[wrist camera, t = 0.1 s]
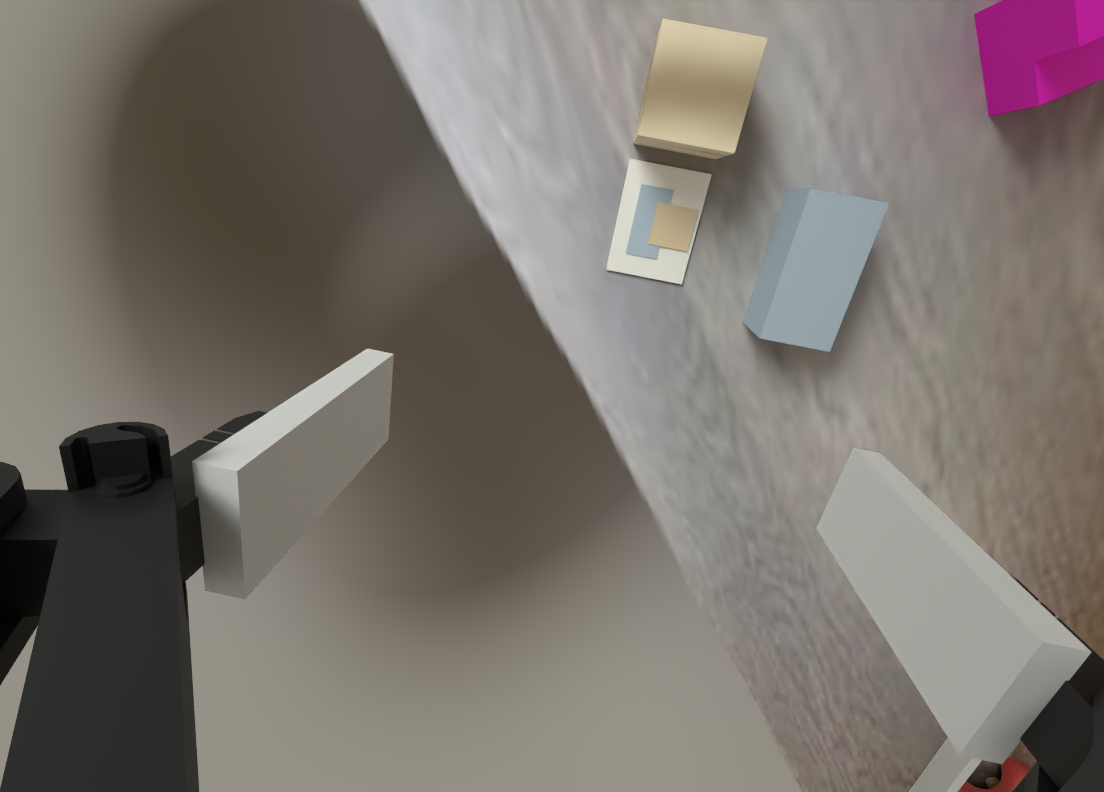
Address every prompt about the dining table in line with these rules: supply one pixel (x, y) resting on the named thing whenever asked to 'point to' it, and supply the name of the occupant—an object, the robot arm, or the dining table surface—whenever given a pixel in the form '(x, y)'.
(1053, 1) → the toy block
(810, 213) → the blue brick
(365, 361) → the robot arm
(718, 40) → the maple cube
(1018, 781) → the colourful stacking toy
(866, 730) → the dining table surface
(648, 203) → the tile
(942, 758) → the tray
